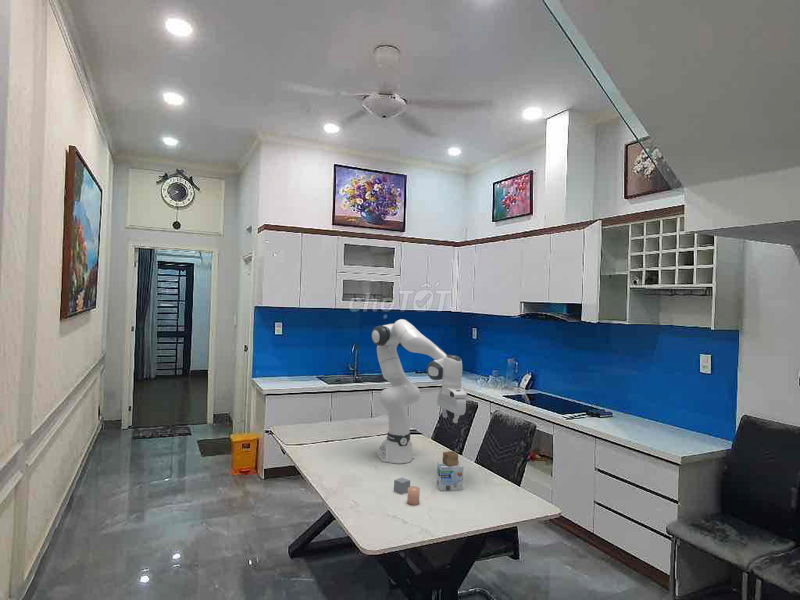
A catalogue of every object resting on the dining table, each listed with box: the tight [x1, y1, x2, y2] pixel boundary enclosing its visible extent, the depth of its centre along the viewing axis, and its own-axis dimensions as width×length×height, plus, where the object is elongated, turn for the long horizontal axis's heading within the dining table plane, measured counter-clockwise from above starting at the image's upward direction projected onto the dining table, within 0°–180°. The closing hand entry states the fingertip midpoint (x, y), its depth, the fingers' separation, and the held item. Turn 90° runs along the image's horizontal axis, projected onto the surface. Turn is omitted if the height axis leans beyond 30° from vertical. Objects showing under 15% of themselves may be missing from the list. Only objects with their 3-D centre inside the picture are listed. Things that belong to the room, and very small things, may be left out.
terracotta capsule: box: [406, 485, 421, 506], centre depth 210 cm, size 5×5×6 cm
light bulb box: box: [436, 461, 464, 492], centre depth 228 cm, size 11×7×11 cm, turn 101°
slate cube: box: [393, 476, 411, 495], centre depth 223 cm, size 5×5×5 cm
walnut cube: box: [442, 450, 459, 466], centre depth 228 cm, size 5×5×5 cm
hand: (449, 419), depth 236 cm, fingers open, 8 cm apart
